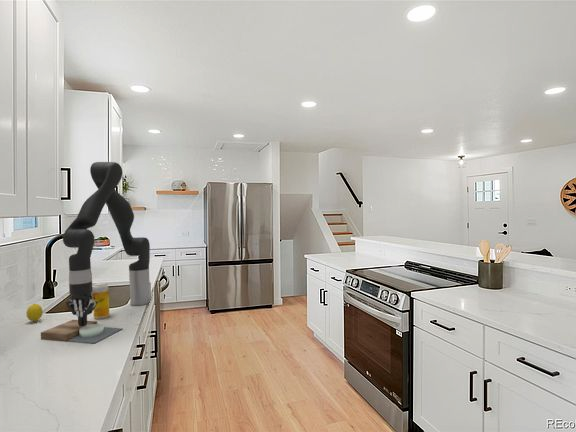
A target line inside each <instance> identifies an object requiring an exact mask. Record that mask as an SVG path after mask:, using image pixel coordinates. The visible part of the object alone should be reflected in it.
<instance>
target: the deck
mask: <svg viewBox="0 0 576 432" xmlns="http://www.w3.org/2000/svg"><path fill="white" fill-rule="evenodd" d="M92 324H98V321H97V320H87V324H86V325H85V326H87V325H92ZM82 327H84V326H79V324H78V319H71V320H69V321H66V322H64V323H61V324H59V325H56V326H53V327H52V328H49V329H45V330H44V331H41V332H40V340H48V341H59V342H68V340H70V339H72V338H74V337H76V336H79V329H80V328H82Z"/></svg>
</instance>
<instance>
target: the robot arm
mask: <svg viewBox="0 0 576 432" xmlns="http://www.w3.org/2000/svg"><path fill="white" fill-rule="evenodd" d="M89 168H90V169H89V172H90V175H91V179H92V181H93V182H94V184H95V186H96V188H97V190H96V191H95V192H93V193H92V194H91V195H90V196H89V197H88V198H87V199H86V200H85V201H84V202H83V203H82V205H81V208H80V210H79V211H78V214H77V216H76V218H75V219H73V221H72V222H71V223H70V225H68V227H67V228H66V230H65V231H64V233H63V236H62V242H63V244H64V246H65V247H68V248H70V249H71V248H72V249H73V248H75V249H76V248H77V251H76V253H73V254H71V255H70V256H69V258H68V271H69V273H68V286H69V287H68V288H69V292H68V293H69V295H70V299H69V301H66V302H65V304H66V306H67V308H68V309H69V310H70V312H71V313H72V315H73V316H76V317H77V320H78V324H79V326H85V325H86V324H87V321H88V315H90V314H92V313H94V308H95V307H96V305H97V304H98V302H97V301H96V302H94V301H93V295H92V293H93V273H92V267H91V264H92V263H91V257H92V252H93V249H94V245H95V234H94V232H92V230H90V228H93V227H94V226H96V224H97V223H98V220H99V218H100V217H101V212H102V211H103V208H104V207H105V205H106V206H107V207H106V208H108V211H109V212H108V213H110V214H109V215H110V216H111V219H112V220H113V222H114V225H115V227H116V229H117V232H118V234H119V237H120V240H121V243H122V248H123V250H124V252H125V254H126V255H127V256H129V257H130V256H131V257H138V260H137V261H134V262H131V263H130V264H129V265H128V273H129V274H128V277H129V298H130V299H129V300H130V301H129V303H130V305H131V306H143V305H147V304H149V303H151V301H152V283H151V281H150V260H151V259H150V258H151V257H150V256H151V255H150V251H151V250H150V249H151V245H150V244H151V243H150V241H149V239H148V238H147V237H143V236H141V237H140V236H139V237H134V236H133V235H132V232H131V228H132V226H133V223H134V220H135V213H134V210H133V208H132V206H131V203H130V202H129V201H128V200H127V199H126V198H125V197H124V196H123V195H122V194H121V193H119V191H117V190H116V189H117V187H118V185H119V184H120V182H121V180H122V177H123V169H122V166H121V165H120V164H119V163H118V162H115V161H95V162H93V163H92V164H91V166H90V167H89Z"/></svg>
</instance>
